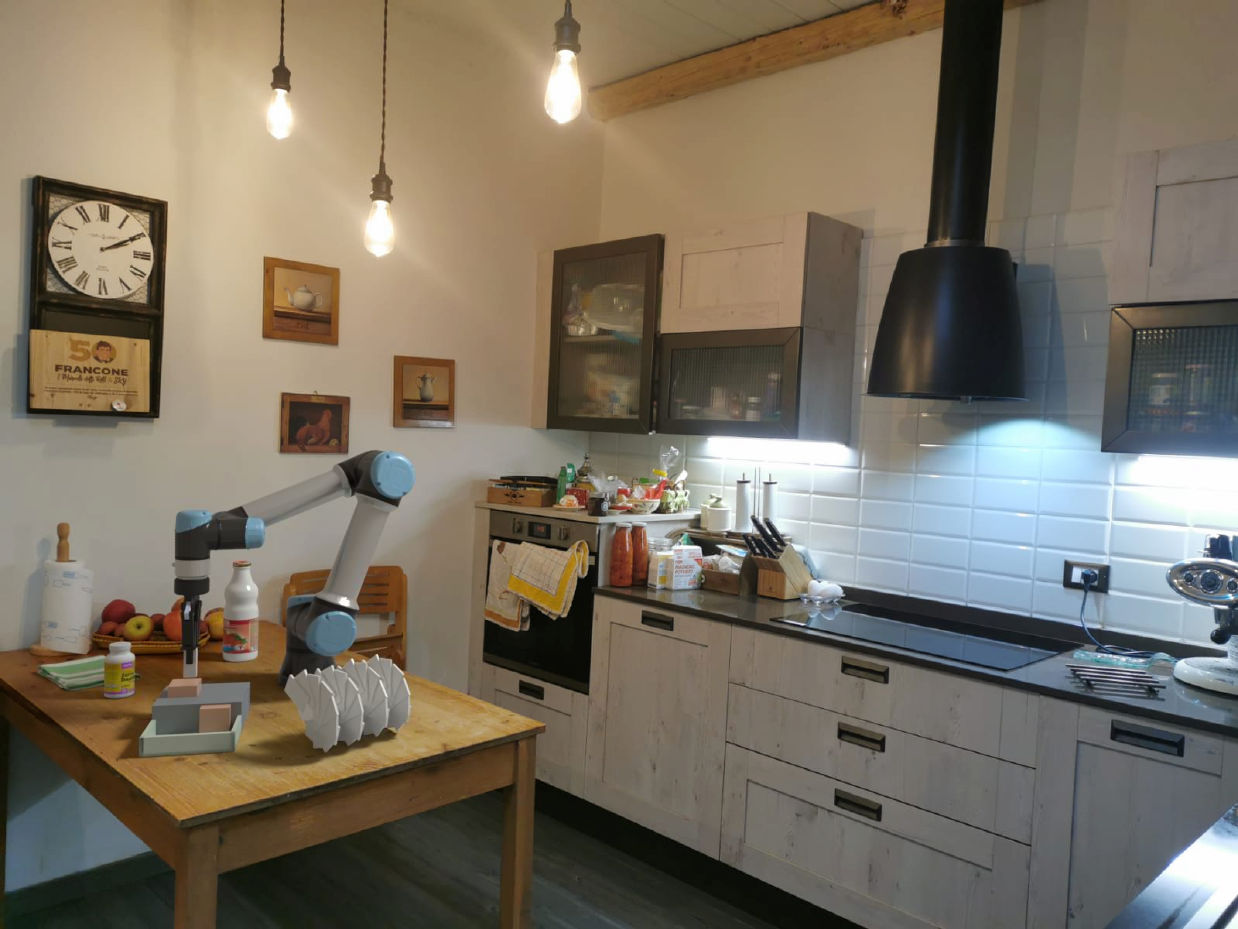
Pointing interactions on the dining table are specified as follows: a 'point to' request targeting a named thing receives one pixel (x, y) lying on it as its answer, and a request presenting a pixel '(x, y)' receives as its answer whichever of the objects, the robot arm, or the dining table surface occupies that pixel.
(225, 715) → the terracotta tile
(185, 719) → the slate step
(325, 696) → the spiral staircase
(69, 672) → the dish towel
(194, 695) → the terracotta tile
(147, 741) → the sage tray
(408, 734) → the dining table surface
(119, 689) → the supplement bottle
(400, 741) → the dining table surface
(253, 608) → the fruit juice
